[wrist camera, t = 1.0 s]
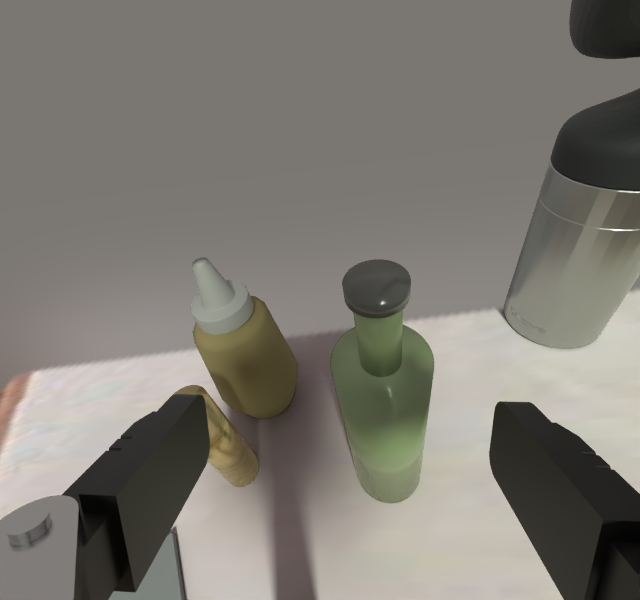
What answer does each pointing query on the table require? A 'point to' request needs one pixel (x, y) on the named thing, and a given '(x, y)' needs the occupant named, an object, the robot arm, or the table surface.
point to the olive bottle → (383, 381)
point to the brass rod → (226, 444)
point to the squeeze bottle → (241, 345)
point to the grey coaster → (159, 577)
